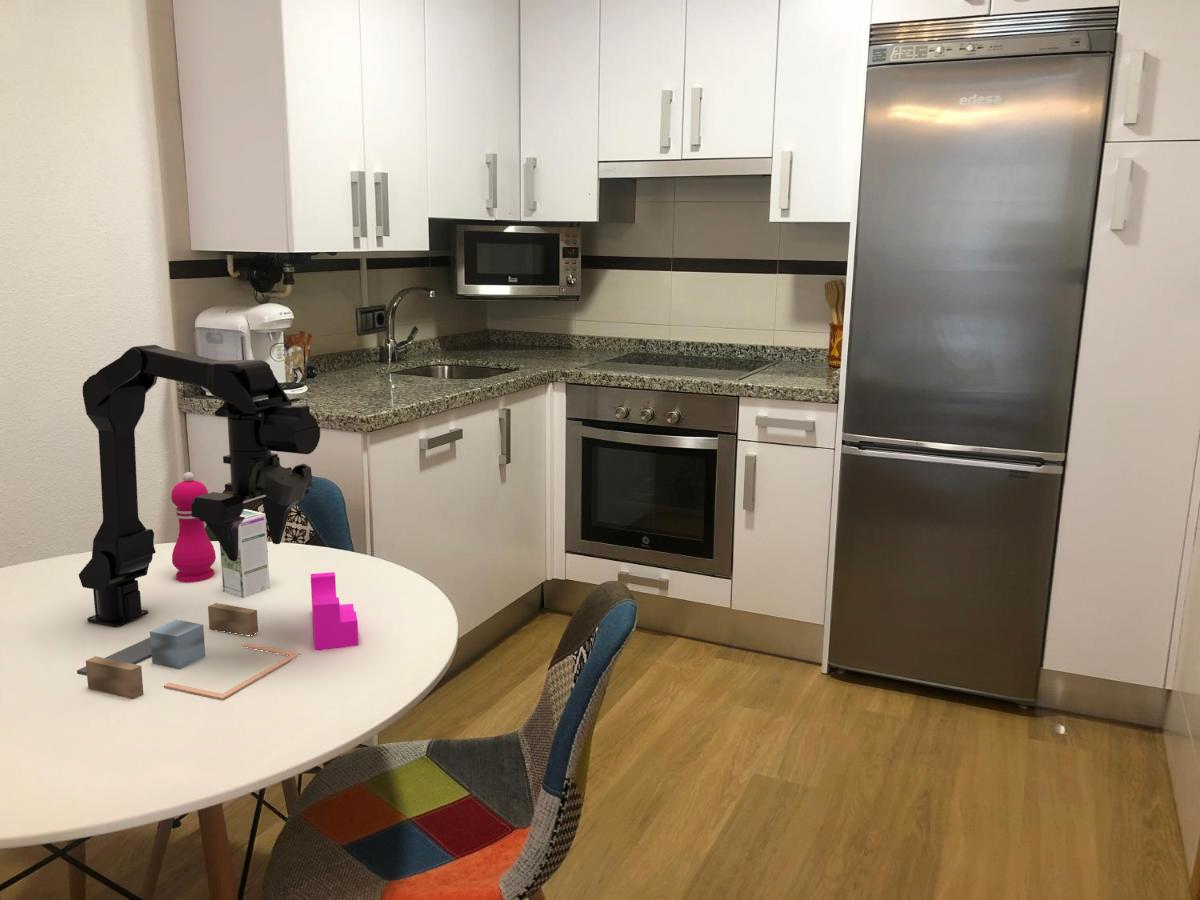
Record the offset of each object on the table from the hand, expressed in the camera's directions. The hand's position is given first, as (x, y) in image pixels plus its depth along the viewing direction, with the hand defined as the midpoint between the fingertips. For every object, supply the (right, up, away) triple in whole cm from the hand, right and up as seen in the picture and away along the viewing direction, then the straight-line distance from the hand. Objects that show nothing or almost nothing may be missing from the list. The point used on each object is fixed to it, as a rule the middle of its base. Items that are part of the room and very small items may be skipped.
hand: (255, 552), depth 144 cm
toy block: (+9, -14, +9) cm, 19 cm away
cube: (-10, -15, -3) cm, 19 cm away
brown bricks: (-10, -15, -3) cm, 19 cm away
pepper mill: (-22, -9, +31) cm, 39 cm away
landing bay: (-1, -16, -6) cm, 17 cm away
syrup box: (-10, -10, +25) cm, 28 cm away
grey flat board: (-17, -15, 0) cm, 22 cm away
